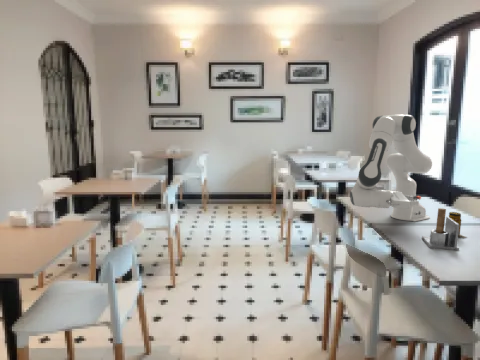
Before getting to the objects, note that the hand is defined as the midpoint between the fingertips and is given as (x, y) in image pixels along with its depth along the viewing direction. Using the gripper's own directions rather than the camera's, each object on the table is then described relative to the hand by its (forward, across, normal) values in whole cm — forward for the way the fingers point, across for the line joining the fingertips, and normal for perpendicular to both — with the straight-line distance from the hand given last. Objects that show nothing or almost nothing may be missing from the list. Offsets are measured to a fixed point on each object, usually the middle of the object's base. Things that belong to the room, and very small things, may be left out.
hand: (415, 200), depth 171 cm
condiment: (+24, +15, +22) cm, 36 cm away
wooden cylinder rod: (+12, -1, +20) cm, 23 cm away
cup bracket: (+12, -1, +21) cm, 24 cm away
